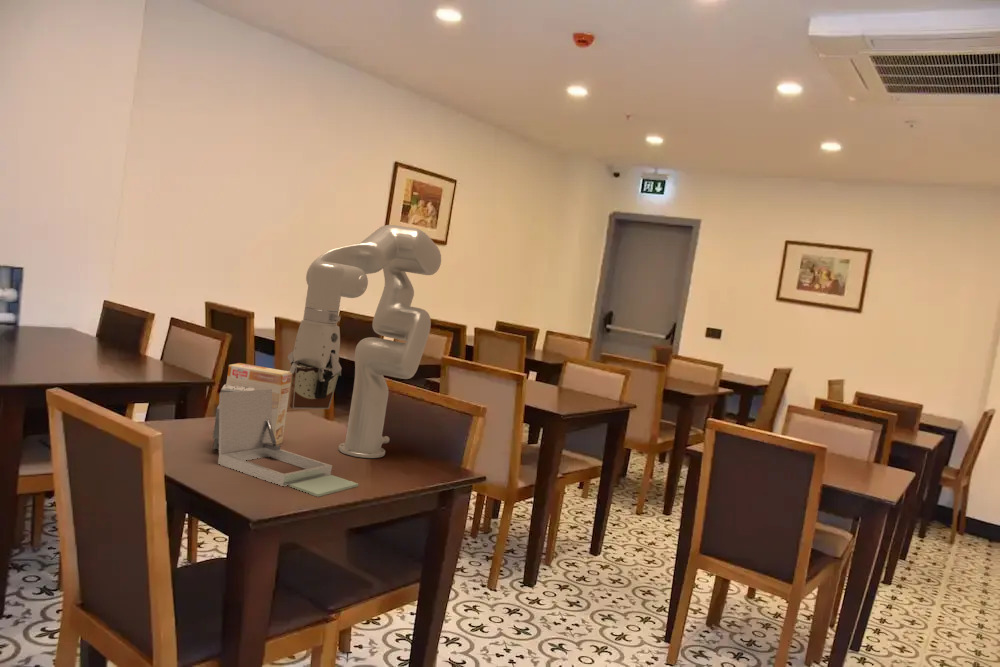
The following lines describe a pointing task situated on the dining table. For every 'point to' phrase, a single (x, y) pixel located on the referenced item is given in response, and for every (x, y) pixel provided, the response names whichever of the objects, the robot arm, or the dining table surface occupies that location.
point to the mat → (324, 485)
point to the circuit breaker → (216, 428)
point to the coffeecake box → (263, 381)
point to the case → (258, 439)
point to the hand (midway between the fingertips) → (309, 394)
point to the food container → (309, 388)
